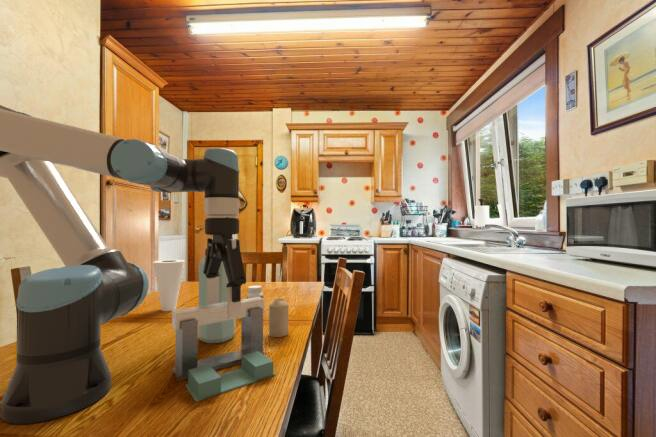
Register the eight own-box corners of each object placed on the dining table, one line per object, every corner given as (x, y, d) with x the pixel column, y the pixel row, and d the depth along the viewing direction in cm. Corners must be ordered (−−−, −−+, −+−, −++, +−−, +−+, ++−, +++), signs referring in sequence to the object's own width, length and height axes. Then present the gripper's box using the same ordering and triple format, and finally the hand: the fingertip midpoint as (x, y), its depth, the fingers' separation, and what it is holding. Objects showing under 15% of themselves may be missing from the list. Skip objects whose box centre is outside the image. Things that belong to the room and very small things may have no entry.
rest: (195, 401, 56) (196, 384, 56) (185, 386, 61) (185, 370, 62) (275, 375, 66) (275, 360, 66) (260, 363, 71) (260, 350, 71)
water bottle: (224, 345, 82) (224, 250, 82) (190, 343, 84) (190, 249, 84) (242, 332, 92) (242, 247, 92) (211, 330, 94) (211, 247, 94)
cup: (175, 313, 112) (176, 262, 112) (146, 313, 112) (146, 262, 112) (189, 305, 123) (189, 259, 123) (162, 305, 123) (162, 259, 123)
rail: (175, 330, 64) (175, 313, 64) (172, 326, 67) (172, 310, 67) (264, 313, 77) (264, 298, 77) (258, 310, 79) (258, 296, 79)
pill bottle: (266, 314, 111) (266, 286, 111) (254, 318, 106) (255, 288, 106) (255, 311, 114) (255, 284, 114) (243, 315, 109) (243, 287, 109)
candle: (279, 338, 87) (279, 302, 87) (265, 335, 90) (265, 300, 90) (292, 332, 92) (292, 298, 92) (277, 329, 95) (277, 296, 95)
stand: (179, 381, 63) (179, 323, 63) (172, 371, 68) (173, 317, 68) (264, 356, 75) (264, 308, 75) (254, 349, 79) (254, 303, 80)
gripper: (261, 215, 65) (262, 319, 64) (219, 218, 84) (220, 298, 84) (226, 215, 60) (226, 327, 60) (189, 218, 79) (190, 302, 79)
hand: (222, 310), depth 72 cm, fingers open, 13 cm apart
